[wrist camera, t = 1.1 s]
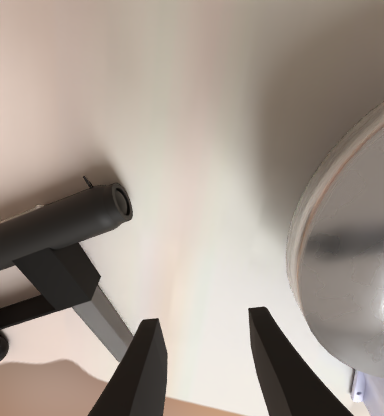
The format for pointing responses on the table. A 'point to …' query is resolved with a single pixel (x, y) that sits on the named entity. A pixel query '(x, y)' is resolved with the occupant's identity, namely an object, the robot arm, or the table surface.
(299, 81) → the table surface
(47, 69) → the table surface
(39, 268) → the gun
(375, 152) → the cooker lid
